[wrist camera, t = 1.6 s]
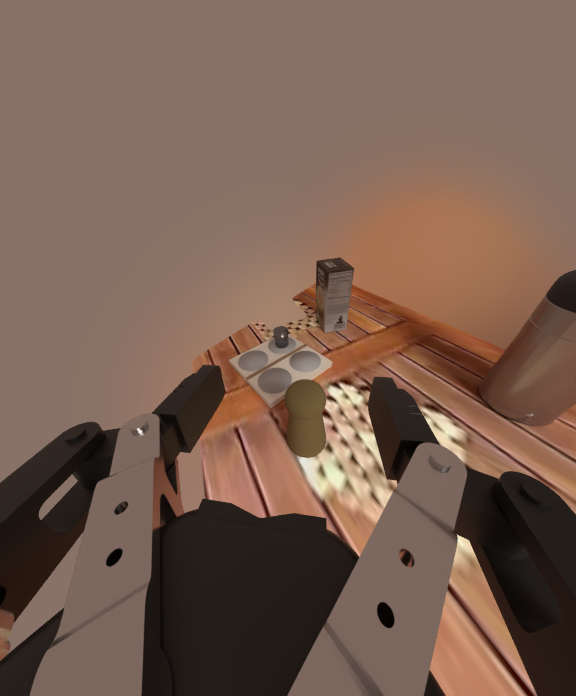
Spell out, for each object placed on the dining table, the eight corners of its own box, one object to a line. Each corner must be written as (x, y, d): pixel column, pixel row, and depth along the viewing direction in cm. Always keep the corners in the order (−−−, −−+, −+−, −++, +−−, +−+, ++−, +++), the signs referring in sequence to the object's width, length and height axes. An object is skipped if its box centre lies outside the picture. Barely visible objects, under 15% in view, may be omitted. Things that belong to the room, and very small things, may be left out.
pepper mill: (278, 434, 32) (270, 387, 25) (307, 413, 35) (306, 365, 28) (304, 466, 28) (302, 421, 22) (334, 440, 31) (341, 391, 24)
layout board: (285, 335, 54) (284, 331, 53) (331, 365, 44) (332, 360, 43) (229, 364, 46) (228, 359, 46) (270, 408, 36) (269, 403, 35)
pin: (283, 338, 50) (281, 324, 48) (291, 344, 48) (290, 330, 46) (272, 344, 49) (270, 330, 46) (280, 350, 47) (279, 335, 44)
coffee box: (314, 317, 61) (315, 259, 51) (335, 313, 61) (340, 257, 52) (324, 333, 54) (327, 270, 44) (347, 330, 54) (355, 267, 44)
